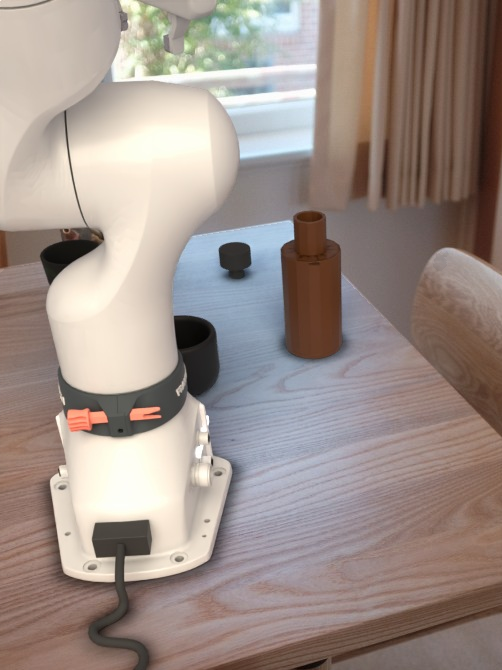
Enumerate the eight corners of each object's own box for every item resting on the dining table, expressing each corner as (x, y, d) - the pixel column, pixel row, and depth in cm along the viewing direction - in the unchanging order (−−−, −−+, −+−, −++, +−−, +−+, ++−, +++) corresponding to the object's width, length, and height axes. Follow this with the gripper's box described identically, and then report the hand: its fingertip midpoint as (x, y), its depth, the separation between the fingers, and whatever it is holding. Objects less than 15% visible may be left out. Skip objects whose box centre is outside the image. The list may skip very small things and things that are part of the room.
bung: (253, 281, 132) (251, 253, 129) (221, 283, 131) (218, 256, 129) (251, 267, 135) (249, 240, 133) (220, 269, 135) (217, 242, 132)
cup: (128, 342, 118) (113, 254, 111) (73, 359, 115) (53, 270, 107) (105, 319, 123) (88, 234, 116) (51, 335, 120) (30, 248, 112)
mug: (202, 358, 115) (195, 307, 110) (234, 390, 109) (229, 337, 104) (112, 386, 110) (101, 333, 106) (141, 421, 104) (131, 367, 100)
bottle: (345, 356, 115) (344, 226, 104) (288, 360, 114) (281, 230, 103) (337, 329, 120) (336, 203, 110) (283, 333, 120) (276, 206, 109)
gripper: (46, -118, 97) (66, 22, 107) (178, -76, 89) (186, 72, 98) (93, -125, 101) (108, 11, 110) (224, -85, 92) (228, 59, 102)
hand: (146, 40), depth 104 cm, fingers open, 8 cm apart
